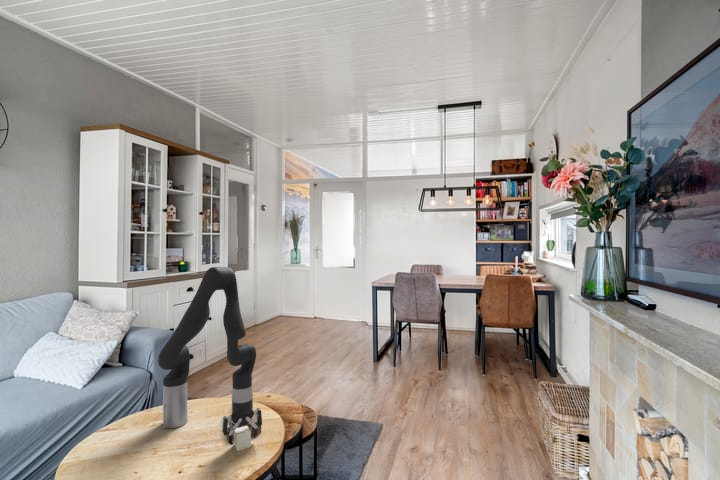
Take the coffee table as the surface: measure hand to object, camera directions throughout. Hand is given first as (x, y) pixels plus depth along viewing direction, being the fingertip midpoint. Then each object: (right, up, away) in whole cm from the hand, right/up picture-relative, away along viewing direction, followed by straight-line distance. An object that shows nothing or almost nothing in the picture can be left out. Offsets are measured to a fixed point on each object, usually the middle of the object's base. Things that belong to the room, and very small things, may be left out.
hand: (242, 440), depth 141 cm
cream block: (0, -2, 0) cm, 2 cm away
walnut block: (-3, -2, +12) cm, 13 cm away
